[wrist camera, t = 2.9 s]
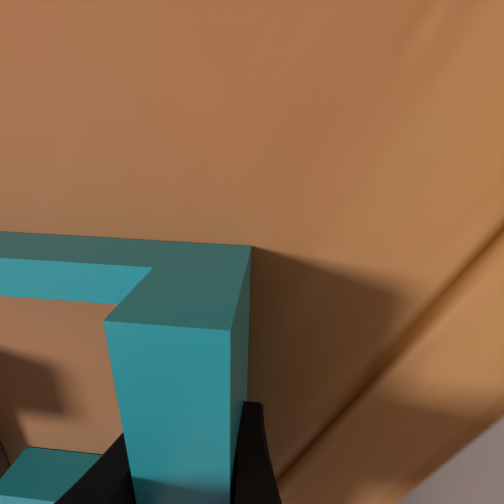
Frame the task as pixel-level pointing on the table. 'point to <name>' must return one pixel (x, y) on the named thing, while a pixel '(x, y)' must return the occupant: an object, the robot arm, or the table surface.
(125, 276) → the teal c-shaped bracket
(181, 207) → the table surface
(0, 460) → the stand
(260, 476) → the robot arm
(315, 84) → the table surface
